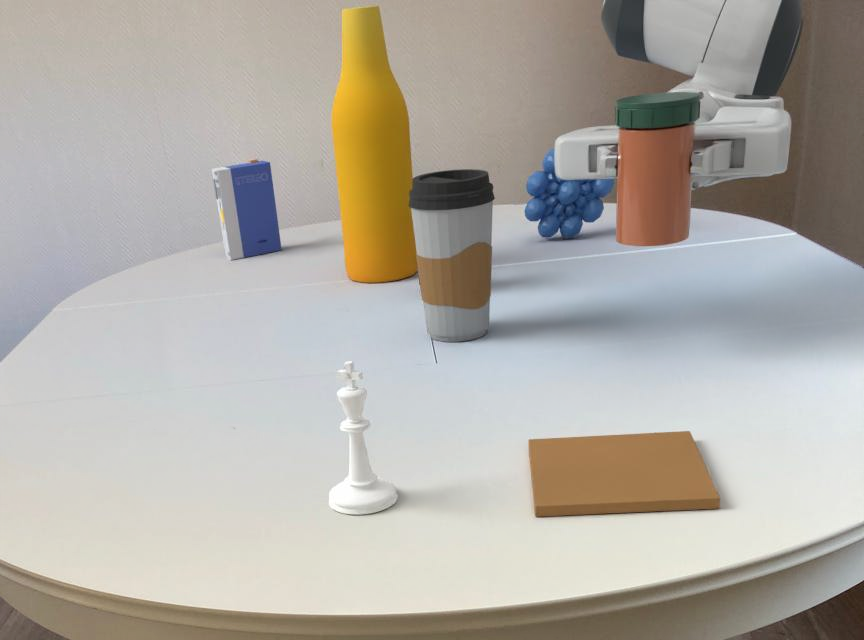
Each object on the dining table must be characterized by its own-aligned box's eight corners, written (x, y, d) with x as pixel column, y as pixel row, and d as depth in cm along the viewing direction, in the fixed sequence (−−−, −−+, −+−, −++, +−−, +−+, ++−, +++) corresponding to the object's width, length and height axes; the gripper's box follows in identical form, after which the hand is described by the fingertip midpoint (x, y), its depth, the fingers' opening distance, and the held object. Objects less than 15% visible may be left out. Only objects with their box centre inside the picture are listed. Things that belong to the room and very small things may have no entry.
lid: (691, 113, 90) (692, 89, 89) (705, 123, 84) (706, 97, 83) (611, 120, 90) (612, 97, 89) (620, 130, 85) (620, 106, 84)
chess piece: (376, 519, 73) (362, 377, 67) (316, 509, 75) (297, 371, 69) (409, 490, 76) (398, 353, 71) (351, 482, 78) (336, 348, 73)
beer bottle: (335, 284, 131) (306, 13, 116) (360, 265, 138) (336, 9, 123) (406, 283, 128) (386, 5, 113) (428, 264, 135) (412, 1, 120)
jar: (683, 228, 94) (690, 96, 89) (694, 243, 89) (702, 104, 83) (612, 233, 95) (614, 103, 89) (619, 249, 90) (622, 112, 84)
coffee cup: (463, 317, 113) (456, 166, 105) (515, 330, 107) (512, 171, 99) (401, 335, 109) (389, 180, 102) (452, 350, 104) (443, 187, 96)
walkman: (274, 247, 153) (262, 157, 147) (281, 250, 151) (269, 159, 145) (223, 257, 150) (209, 166, 144) (230, 260, 148) (215, 168, 142)
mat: (689, 440, 79) (690, 430, 79) (719, 508, 69) (720, 497, 69) (528, 448, 81) (528, 439, 80) (535, 517, 71) (535, 506, 70)
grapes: (608, 228, 145) (610, 132, 138) (615, 238, 139) (618, 138, 133) (522, 235, 146) (521, 139, 139) (526, 245, 140) (524, 146, 134)
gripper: (574, 108, 101) (532, 130, 90) (802, 95, 93) (784, 117, 83) (574, 179, 104) (533, 208, 94) (794, 172, 96) (776, 203, 86)
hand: (653, 165), depth 88 cm, fingers closed on jar, 6 cm apart
